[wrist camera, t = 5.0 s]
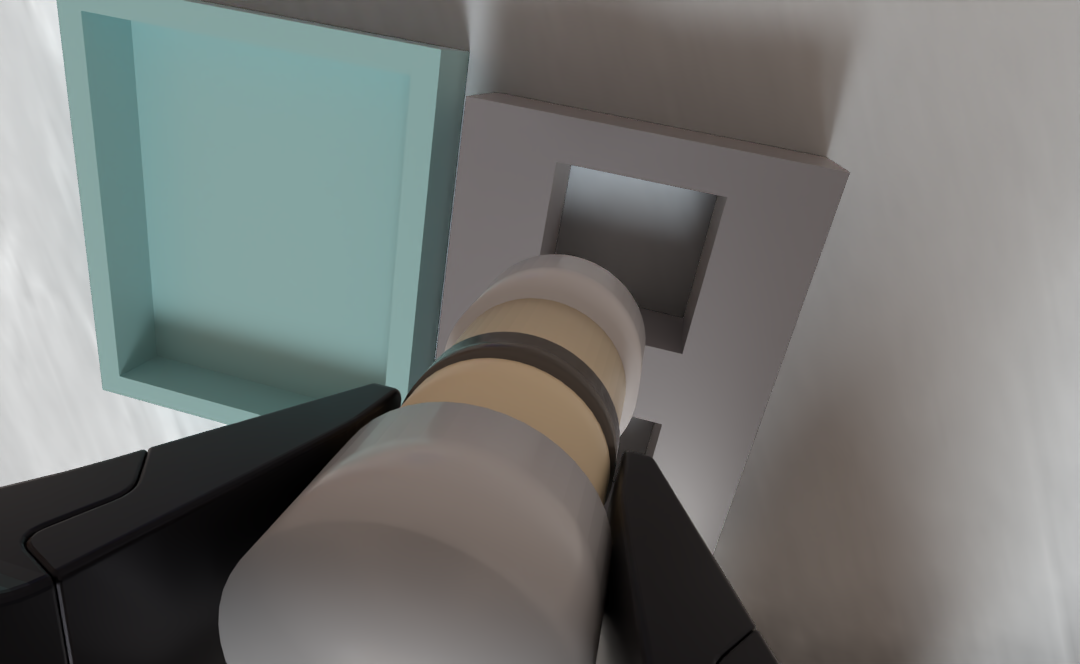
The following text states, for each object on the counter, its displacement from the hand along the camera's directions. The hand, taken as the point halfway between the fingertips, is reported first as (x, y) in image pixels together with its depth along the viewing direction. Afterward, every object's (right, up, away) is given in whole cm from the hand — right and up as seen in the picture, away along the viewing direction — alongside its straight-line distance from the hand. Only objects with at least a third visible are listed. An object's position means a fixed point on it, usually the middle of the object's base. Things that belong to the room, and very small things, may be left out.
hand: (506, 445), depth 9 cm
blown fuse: (+1, +1, +4) cm, 4 cm away
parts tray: (-9, +5, +14) cm, 17 cm away
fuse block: (+3, +2, +13) cm, 13 cm away
